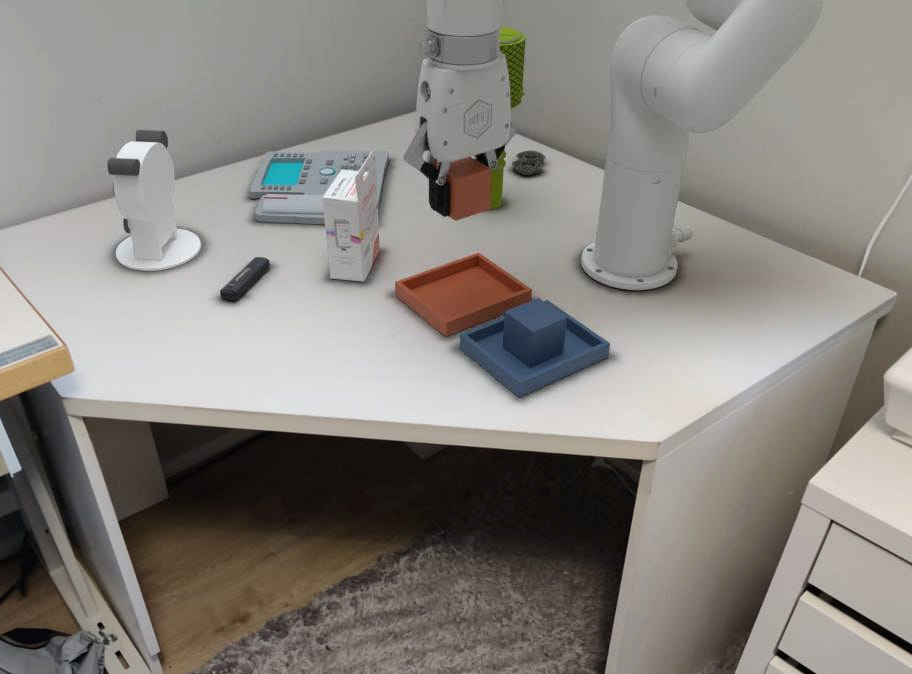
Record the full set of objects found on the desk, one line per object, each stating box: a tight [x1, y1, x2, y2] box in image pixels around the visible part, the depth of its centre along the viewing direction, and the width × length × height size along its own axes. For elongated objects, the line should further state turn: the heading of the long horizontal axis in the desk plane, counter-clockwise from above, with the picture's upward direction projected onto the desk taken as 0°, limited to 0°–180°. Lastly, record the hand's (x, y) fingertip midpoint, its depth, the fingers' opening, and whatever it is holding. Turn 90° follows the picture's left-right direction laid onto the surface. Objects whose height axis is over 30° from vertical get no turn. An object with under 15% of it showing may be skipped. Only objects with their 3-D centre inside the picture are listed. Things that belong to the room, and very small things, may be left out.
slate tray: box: [459, 299, 611, 398], centre depth 103 cm, size 13×11×2 cm
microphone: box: [489, 26, 527, 210], centre depth 125 cm, size 8×8×25 cm
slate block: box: [503, 297, 567, 368], centre depth 101 cm, size 5×5×5 cm
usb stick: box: [219, 256, 271, 301], centre depth 115 cm, size 10×3×2 cm, turn 160°
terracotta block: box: [436, 156, 492, 222], centre depth 101 cm, size 5×5×5 cm
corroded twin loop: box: [511, 150, 546, 176], centre depth 143 cm, size 5×8×1 cm, turn 166°
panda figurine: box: [106, 129, 202, 272], centre depth 118 cm, size 12×11×15 cm
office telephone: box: [249, 149, 390, 225], centre depth 136 cm, size 23×3×20 cm
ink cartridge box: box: [322, 152, 381, 282], centre depth 114 cm, size 9×5×15 cm, turn 168°
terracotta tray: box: [394, 252, 533, 337], centre depth 112 cm, size 13×11×2 cm
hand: (460, 203), depth 103 cm, fingers closed on terracotta block, 5 cm apart
